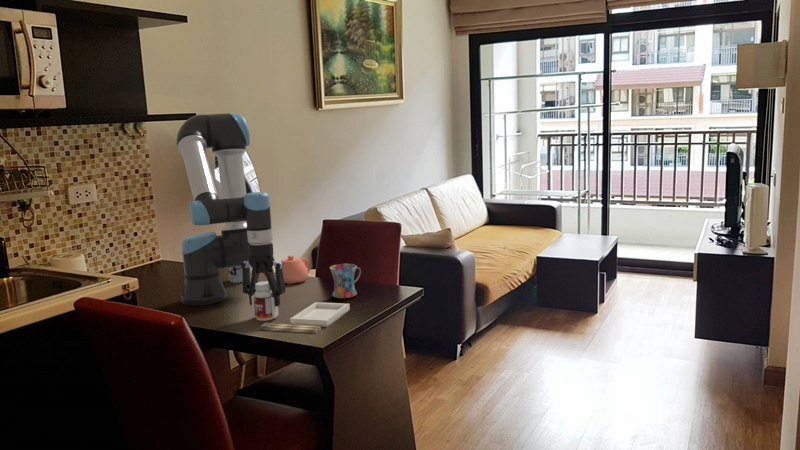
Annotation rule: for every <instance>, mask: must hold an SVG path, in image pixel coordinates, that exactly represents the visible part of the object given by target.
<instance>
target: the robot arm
mask: <svg viewBox="0 0 800 450" xmlns="http://www.w3.org/2000/svg"><path fill="white" fill-rule="evenodd" d="M250 136H251V135H250V131H249V126H248V123H247V120H246V119H245V117H244V116H243V115H242V114H240V113H230V112H229V113H213V114H212V113H211V114H209V113H208V114H196V115H193V116H191V117H189V118H187V120H185V121H184V122H183V124H182V125H181V126H180V128H179V130H178V132H177V135H176V147H177V151H178V153H179V154H180V155H182V160H183V162H184V166H185V170H186V174H187V178H188V183H189V187H190V190H191V193H192V199H193V201H191V202H189V211H188V212H189V218H190V222H191V223H192V225H194V226H209V225H217V224H224V225H223V227H222V229H220V232H221V234H220V235H217V233H216V232H215V231H208V232H200V233H196V234H191V235H190V236H187V237H185V238H184V239H183V240H182V242H181V254H182V259H183V269H184V271H183V272H184V284H183V288H182V293H181V303H182V304H183V305H185V306H194V307H195V306H198V307H199V306H206V305H207V306H208V305H213V304H217V303H220V302H223V301H225V300H226V299H227V298H228V296H227V290H226V289H225V286H224V284H223V281H222V279H221V277H220V276H221V275H220V269H221V270H222V269H227V268H228V267H236V266H241V267H242V271H243V282H242V292H243V294H247V295H248V299H249V305H250V306H251V308H252V316H253V317H256V313H255V299H254V293H255V292H256V291H257V290H256V289H255V284H256V283H258V282H259V278H260V277H259V276H260V275H261V273H262V274H264V277H266V281H268V283H269V285H270V288H271V291H272V293H273V296H272V297H271V304H272V317H275V318H276V317H277V316H279V315H280V314H279V313H280V312H279V306H281V295H284V294H285V293H286V286H285V283H284V278H283V271H282V268H283V262H281V261H276V259H275V258H274V244H273V228H272V216H271V202H270V196H269V193H267V192H265V191H263V192H262V191H256V192H248V193H247V186H246V177H245V170H244V169H245V168H244V162H243V161H244V160H243V158H244V157H243V155H244V154H245V153H246V151H247V148H246V147H248V146H249V145H250V142H251V139H250ZM207 149H211V152H212V154H213V155H214V156H215V157H216V158H217V163H218V175H219V183H220V184H219V185H220V193H221V198H219V195H218V191H217V188H216V184H215V179H214V175H213V173H212V169H211V166H210V165H211V164H210V162H209V158H208V154H207V152H206V150H207ZM250 265H251V267H252V268H253V269H252V272H251V274H250ZM273 268H274V269H273ZM274 273H275V274H274Z"/></svg>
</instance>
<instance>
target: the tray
mask: <svg viewBox="0 0 800 450" xmlns="http://www.w3.org/2000/svg"><path fill="white" fill-rule="evenodd" d="M350 305H351V304H350V303H342V302H341V303H340V302H339V303H338V302H322V301H321V302H318V301H317V302H316V301H315V302H313V303H312V304H310V305H309V306H307V307H305V308H304V309H303V310H301V311H299V312H297V313H296V314H295V315H293V316H292V317H290V318H289V320H290V325H304V326H321V328H329V326H331V325H332V324H333V323H334V322H336V321H337V320H339V319H340V318H341V317H343V316H344V315H345V314H347V313H348V312H349V311H351V308H350Z"/></svg>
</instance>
